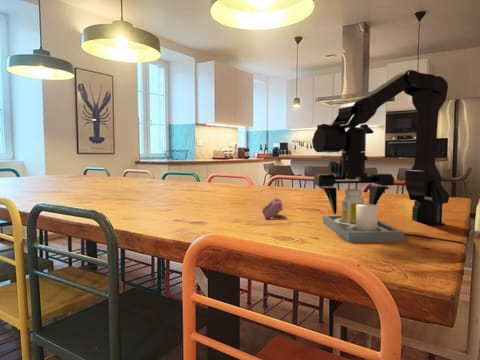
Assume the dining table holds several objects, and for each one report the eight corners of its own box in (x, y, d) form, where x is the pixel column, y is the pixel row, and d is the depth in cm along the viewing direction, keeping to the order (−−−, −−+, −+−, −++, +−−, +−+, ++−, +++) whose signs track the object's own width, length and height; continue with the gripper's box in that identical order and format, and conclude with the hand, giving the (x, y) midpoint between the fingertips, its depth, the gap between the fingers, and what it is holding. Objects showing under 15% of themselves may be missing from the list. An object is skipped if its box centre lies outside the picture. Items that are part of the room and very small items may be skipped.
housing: (366, 226, 94) (366, 215, 93) (403, 245, 74) (404, 231, 73) (323, 226, 93) (323, 215, 93) (348, 246, 73) (348, 232, 73)
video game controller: (276, 224, 105) (286, 203, 104) (263, 217, 105) (273, 197, 104) (273, 218, 115) (282, 199, 114) (260, 212, 115) (270, 193, 114)
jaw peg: (371, 232, 81) (372, 203, 81) (380, 237, 77) (381, 206, 76) (352, 233, 81) (353, 203, 80) (360, 238, 76) (360, 206, 76)
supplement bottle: (338, 227, 88) (338, 189, 87) (346, 224, 92) (347, 188, 91) (359, 230, 84) (359, 191, 83) (366, 226, 88) (367, 189, 87)
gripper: (376, 151, 95) (375, 208, 96) (309, 152, 94) (308, 209, 95) (395, 151, 84) (394, 215, 85) (319, 152, 83) (319, 216, 84)
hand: (352, 213), depth 88 cm, fingers open, 9 cm apart
